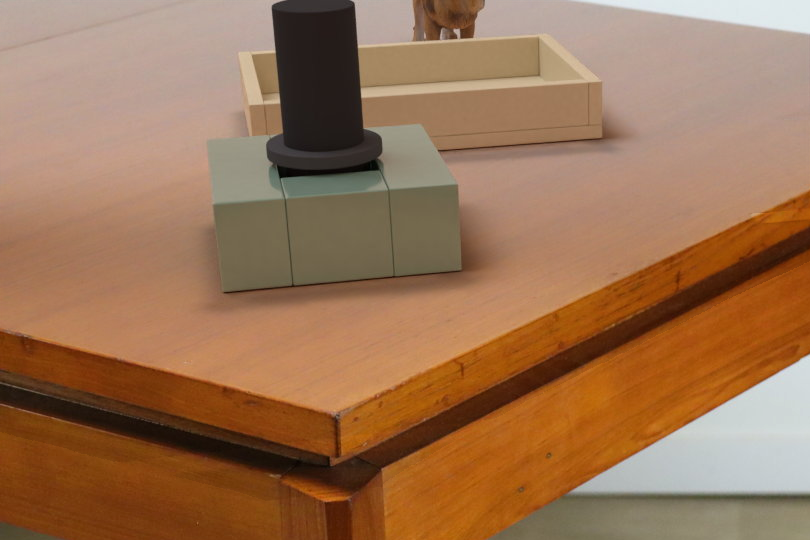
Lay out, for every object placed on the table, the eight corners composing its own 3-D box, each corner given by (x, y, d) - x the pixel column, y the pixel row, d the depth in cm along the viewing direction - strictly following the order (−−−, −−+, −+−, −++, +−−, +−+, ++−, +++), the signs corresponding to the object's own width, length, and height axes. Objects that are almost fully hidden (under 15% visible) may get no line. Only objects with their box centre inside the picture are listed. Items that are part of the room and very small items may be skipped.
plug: (279, 267, 68) (255, 19, 63) (272, 230, 72) (249, -3, 68) (395, 256, 69) (380, 11, 64) (380, 221, 73) (365, -10, 69)
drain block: (222, 292, 65) (212, 203, 63) (214, 218, 74) (205, 139, 72) (462, 270, 67) (458, 183, 65) (425, 201, 76) (421, 123, 75)
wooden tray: (254, 164, 83) (248, 104, 81) (243, 104, 95) (237, 52, 93) (602, 138, 87) (602, 81, 85) (549, 84, 99) (548, 33, 97)
